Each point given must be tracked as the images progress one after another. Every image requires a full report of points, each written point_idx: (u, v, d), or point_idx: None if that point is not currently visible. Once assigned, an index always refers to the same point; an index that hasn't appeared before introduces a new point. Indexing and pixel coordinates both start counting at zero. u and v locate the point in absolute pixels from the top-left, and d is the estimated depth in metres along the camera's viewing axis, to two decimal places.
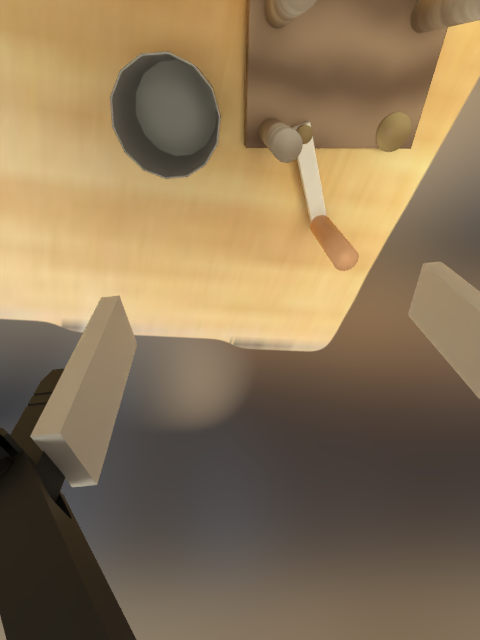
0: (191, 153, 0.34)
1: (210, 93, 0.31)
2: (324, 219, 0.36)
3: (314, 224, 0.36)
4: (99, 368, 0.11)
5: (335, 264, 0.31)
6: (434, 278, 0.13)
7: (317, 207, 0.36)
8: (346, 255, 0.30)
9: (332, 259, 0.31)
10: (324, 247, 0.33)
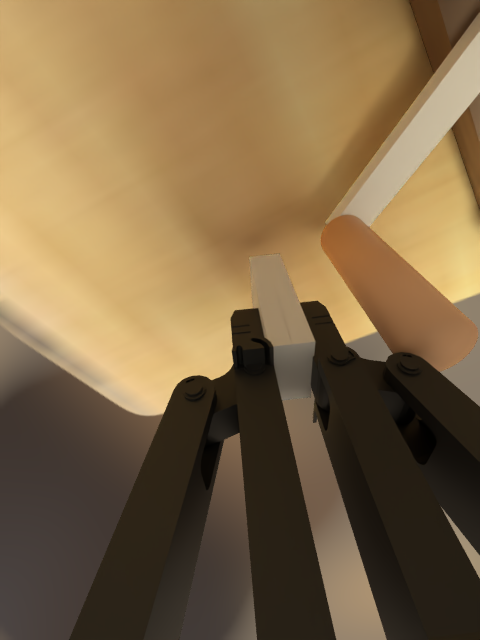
0: None
1: None
2: (372, 231, 0.15)
3: (348, 223, 0.16)
4: None
5: (411, 339, 0.10)
6: (267, 267, 0.15)
7: (372, 201, 0.16)
8: (450, 340, 0.10)
9: (413, 321, 0.10)
10: (376, 277, 0.12)
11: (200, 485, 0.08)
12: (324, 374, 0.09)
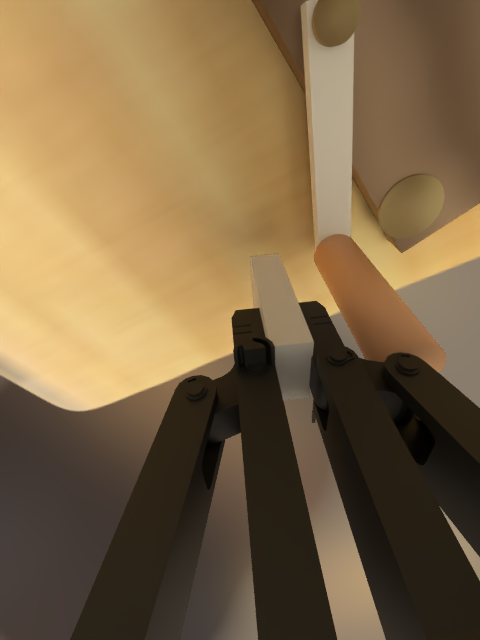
0: None
1: None
2: (348, 245, 0.16)
3: (325, 252, 0.17)
4: None
5: None
6: (266, 267, 0.15)
7: (335, 217, 0.17)
8: None
9: None
10: (348, 315, 0.14)
11: (201, 485, 0.08)
12: (323, 374, 0.09)
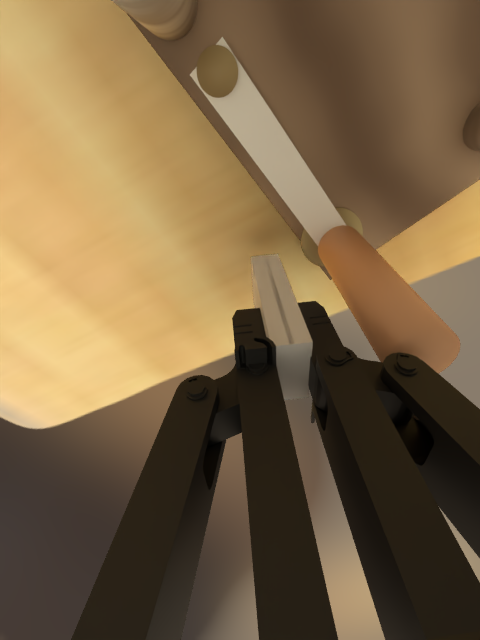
0: None
1: None
2: (341, 238, 0.16)
3: (323, 253, 0.17)
4: None
5: None
6: (265, 267, 0.15)
7: (319, 216, 0.17)
8: (420, 348, 0.10)
9: None
10: (354, 316, 0.13)
11: (202, 485, 0.08)
12: (322, 374, 0.09)
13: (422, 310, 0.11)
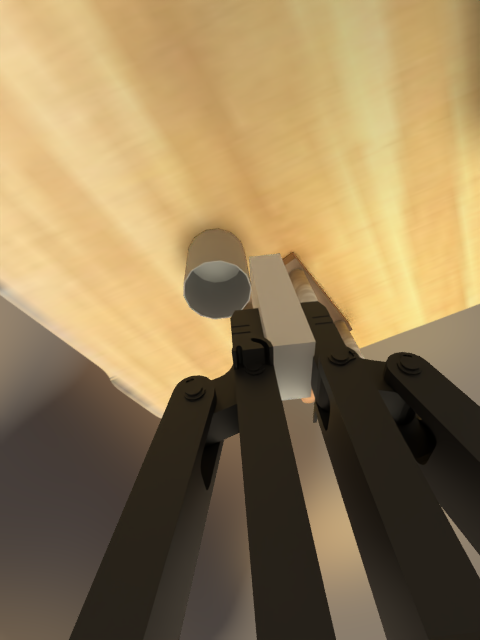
0: (203, 278, 0.48)
1: None
2: None
3: None
4: None
5: (304, 401, 0.49)
6: (267, 267, 0.15)
7: None
8: None
9: None
10: None
11: (200, 485, 0.08)
12: (324, 374, 0.09)
13: None
